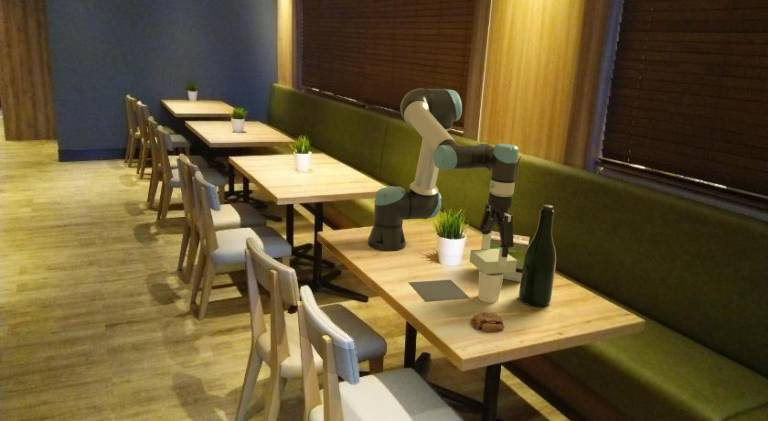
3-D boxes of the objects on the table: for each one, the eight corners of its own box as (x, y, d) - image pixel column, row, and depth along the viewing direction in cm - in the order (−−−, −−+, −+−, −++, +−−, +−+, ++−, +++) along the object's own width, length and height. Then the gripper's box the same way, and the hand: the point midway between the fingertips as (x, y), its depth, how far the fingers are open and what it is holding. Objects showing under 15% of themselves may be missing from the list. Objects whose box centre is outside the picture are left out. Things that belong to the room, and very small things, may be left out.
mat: (408, 283, 211) (408, 282, 211) (450, 280, 216) (450, 279, 216) (425, 302, 196) (425, 301, 196) (470, 299, 201) (470, 298, 201)
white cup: (499, 305, 198) (503, 277, 195) (475, 302, 199) (478, 273, 196) (500, 296, 205) (504, 268, 202) (476, 292, 207) (480, 265, 204)
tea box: (481, 276, 222) (485, 237, 217) (484, 267, 231) (488, 229, 227) (523, 283, 218) (528, 243, 214) (524, 273, 227) (530, 235, 223)
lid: (469, 261, 202) (470, 250, 201) (499, 259, 206) (500, 248, 205) (484, 273, 192) (486, 262, 191) (515, 272, 196) (517, 260, 195)
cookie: (503, 320, 188) (504, 311, 187) (504, 335, 178) (505, 326, 177) (471, 315, 190) (472, 306, 189) (470, 331, 180) (471, 321, 179)
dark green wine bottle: (557, 305, 201) (572, 208, 192) (531, 309, 196) (546, 211, 187) (536, 292, 210) (549, 200, 201) (511, 296, 205) (524, 202, 196)
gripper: (473, 184, 202) (467, 247, 208) (508, 204, 180) (500, 273, 186) (494, 184, 204) (486, 246, 210) (531, 203, 183) (521, 272, 189)
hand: (493, 259), depth 198 cm, fingers closed on lid, 11 cm apart
